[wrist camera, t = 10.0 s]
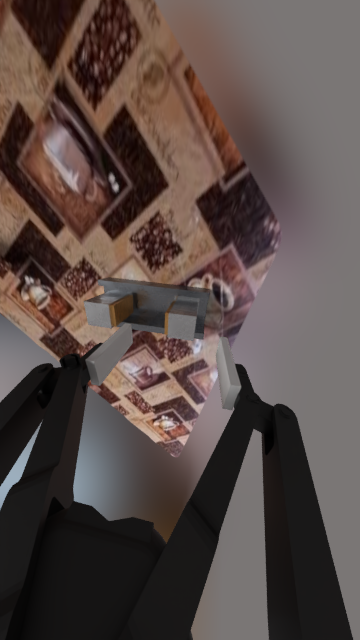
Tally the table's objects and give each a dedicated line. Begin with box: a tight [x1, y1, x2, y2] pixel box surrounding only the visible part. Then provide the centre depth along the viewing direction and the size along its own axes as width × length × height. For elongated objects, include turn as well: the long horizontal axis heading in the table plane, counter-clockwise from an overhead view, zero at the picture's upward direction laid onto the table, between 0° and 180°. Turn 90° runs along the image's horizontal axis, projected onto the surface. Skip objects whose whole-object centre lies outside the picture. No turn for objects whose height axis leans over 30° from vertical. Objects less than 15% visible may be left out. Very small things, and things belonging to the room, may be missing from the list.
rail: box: [84, 277, 210, 339], centre depth 26 cm, size 8×21×10 cm, turn 85°
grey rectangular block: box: [164, 298, 198, 341], centre depth 25 cm, size 4×5×8 cm
